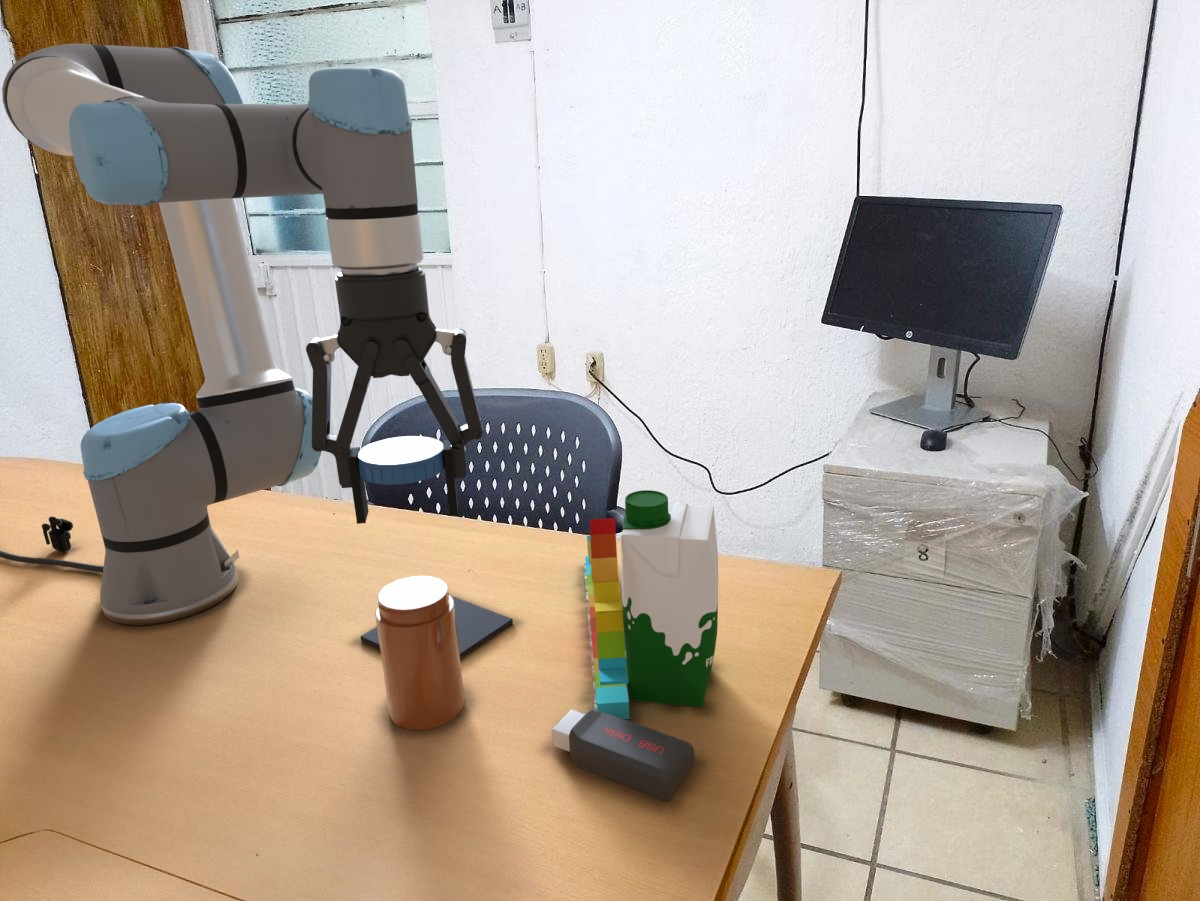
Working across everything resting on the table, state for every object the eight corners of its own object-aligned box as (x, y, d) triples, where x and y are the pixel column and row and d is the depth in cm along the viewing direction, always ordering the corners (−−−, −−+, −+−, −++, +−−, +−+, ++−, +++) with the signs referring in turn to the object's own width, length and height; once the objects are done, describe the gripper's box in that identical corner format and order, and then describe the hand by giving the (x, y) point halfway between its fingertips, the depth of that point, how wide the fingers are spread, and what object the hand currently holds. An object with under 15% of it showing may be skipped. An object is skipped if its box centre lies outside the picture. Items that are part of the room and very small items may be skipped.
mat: (360, 640, 92) (360, 636, 92) (439, 595, 101) (439, 590, 101) (436, 675, 86) (435, 670, 85) (513, 623, 95) (512, 618, 94)
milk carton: (633, 654, 88) (629, 479, 81) (719, 662, 86) (722, 483, 79) (618, 706, 80) (612, 516, 73) (713, 715, 78) (716, 521, 71)
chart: (583, 569, 106) (578, 460, 101) (608, 568, 106) (605, 458, 101) (595, 721, 78) (589, 579, 73) (629, 719, 78) (625, 577, 73)
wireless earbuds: (44, 547, 118) (35, 515, 117) (62, 540, 120) (53, 508, 119) (70, 557, 115) (61, 524, 113) (88, 550, 117) (79, 518, 115)
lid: (464, 464, 77) (462, 445, 77) (396, 491, 71) (394, 471, 71) (408, 448, 82) (406, 430, 81) (341, 473, 76) (338, 453, 75)
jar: (373, 712, 80) (356, 598, 76) (429, 676, 85) (415, 566, 81) (425, 740, 76) (409, 620, 72) (479, 699, 81) (468, 586, 77)
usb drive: (667, 802, 68) (667, 775, 67) (547, 754, 74) (545, 728, 73) (695, 763, 72) (695, 737, 71) (578, 721, 78) (577, 696, 77)
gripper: (499, 257, 75) (515, 489, 83) (263, 268, 73) (303, 507, 80) (502, 267, 68) (520, 519, 76) (241, 280, 66) (287, 540, 73)
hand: (408, 513), depth 78 cm, fingers closed on lid, 8 cm apart
